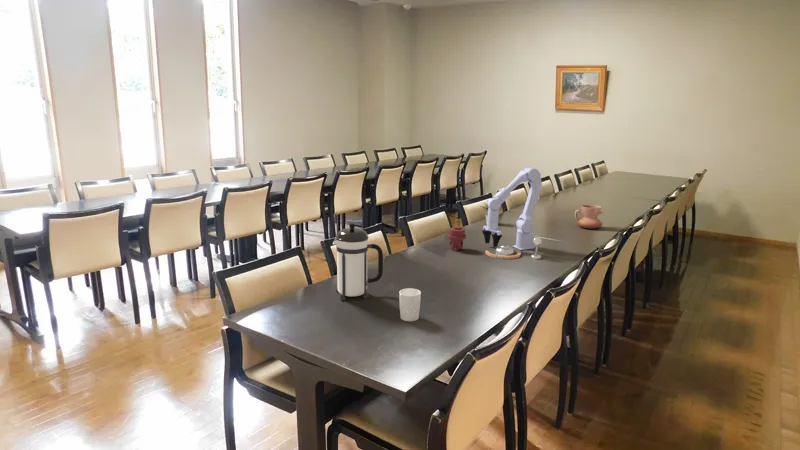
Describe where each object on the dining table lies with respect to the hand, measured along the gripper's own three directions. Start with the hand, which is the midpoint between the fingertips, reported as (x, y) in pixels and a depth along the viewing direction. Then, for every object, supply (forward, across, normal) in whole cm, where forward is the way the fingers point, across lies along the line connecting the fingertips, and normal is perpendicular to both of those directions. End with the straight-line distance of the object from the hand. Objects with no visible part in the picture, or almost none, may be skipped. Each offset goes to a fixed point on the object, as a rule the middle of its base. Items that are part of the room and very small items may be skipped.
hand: (491, 244), depth 279 cm
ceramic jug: (+2, -19, +87) cm, 89 cm away
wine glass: (+2, +23, +12) cm, 26 cm away
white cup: (+2, +67, -81) cm, 105 cm away
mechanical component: (+2, -5, -19) cm, 20 cm away
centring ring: (+2, +13, 0) cm, 13 cm away
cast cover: (+2, +13, 0) cm, 13 cm away
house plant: (+2, -51, +34) cm, 61 cm away
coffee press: (+2, +38, -91) cm, 99 cm away
